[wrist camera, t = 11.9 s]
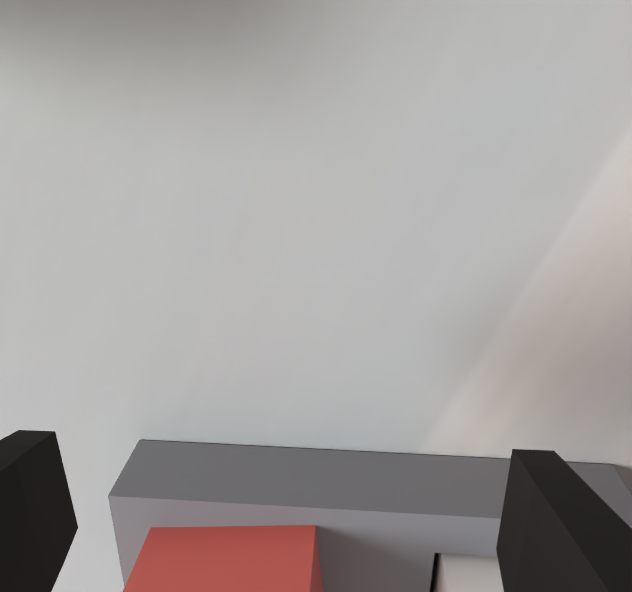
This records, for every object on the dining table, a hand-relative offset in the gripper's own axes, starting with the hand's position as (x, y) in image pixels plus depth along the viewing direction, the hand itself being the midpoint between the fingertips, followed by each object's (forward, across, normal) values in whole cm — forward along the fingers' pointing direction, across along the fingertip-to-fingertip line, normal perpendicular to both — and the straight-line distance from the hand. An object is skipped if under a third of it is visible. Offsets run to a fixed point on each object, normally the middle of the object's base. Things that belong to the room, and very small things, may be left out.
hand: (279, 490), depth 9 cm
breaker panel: (+10, -2, +12) cm, 16 cm away
